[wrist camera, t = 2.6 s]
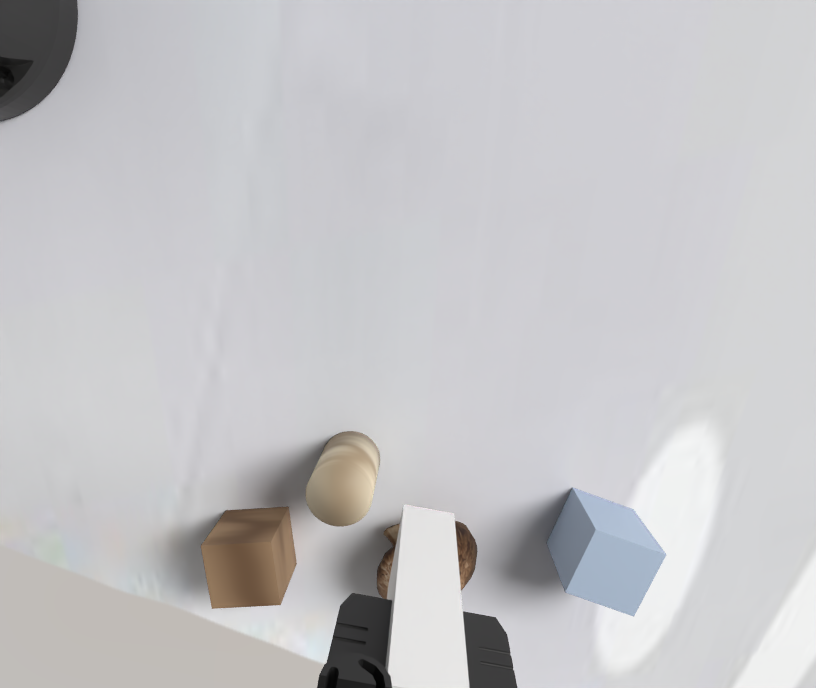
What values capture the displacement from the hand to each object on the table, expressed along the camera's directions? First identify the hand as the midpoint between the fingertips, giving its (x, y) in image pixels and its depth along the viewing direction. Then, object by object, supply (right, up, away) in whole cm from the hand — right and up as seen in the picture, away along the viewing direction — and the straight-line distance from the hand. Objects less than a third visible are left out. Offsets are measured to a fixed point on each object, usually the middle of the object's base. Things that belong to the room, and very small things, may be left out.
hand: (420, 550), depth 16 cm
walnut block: (-12, -9, +27) cm, 31 cm away
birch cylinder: (-5, -3, +26) cm, 26 cm away
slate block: (+14, -8, +26) cm, 30 cm away
